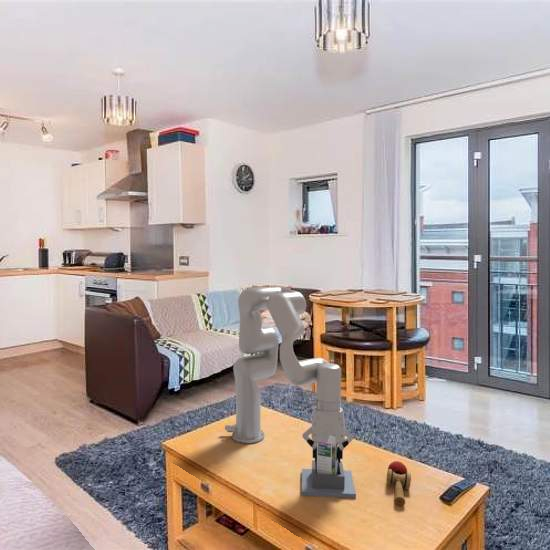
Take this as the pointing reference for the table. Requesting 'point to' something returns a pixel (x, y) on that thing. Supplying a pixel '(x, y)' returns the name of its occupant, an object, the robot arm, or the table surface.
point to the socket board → (328, 483)
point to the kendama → (398, 480)
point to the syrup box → (327, 456)
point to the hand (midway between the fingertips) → (327, 459)
